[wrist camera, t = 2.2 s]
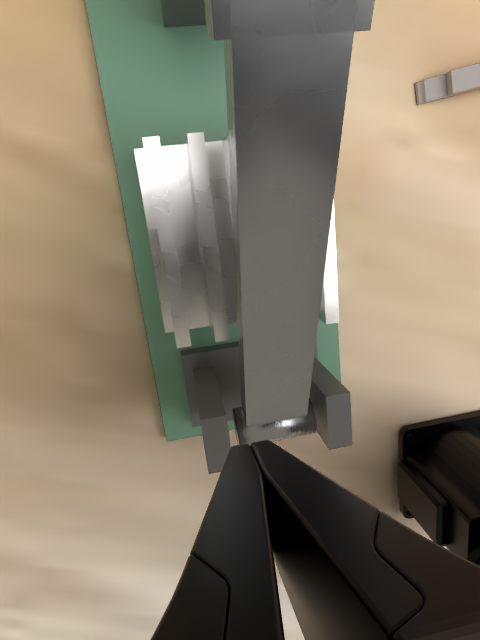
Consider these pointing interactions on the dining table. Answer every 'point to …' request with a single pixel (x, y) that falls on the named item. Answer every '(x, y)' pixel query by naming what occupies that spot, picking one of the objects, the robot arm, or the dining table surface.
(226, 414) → the hinge post
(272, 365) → the strap
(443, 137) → the dining table surface
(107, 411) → the dining table surface
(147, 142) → the heatsink
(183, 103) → the board
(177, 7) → the post
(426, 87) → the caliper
